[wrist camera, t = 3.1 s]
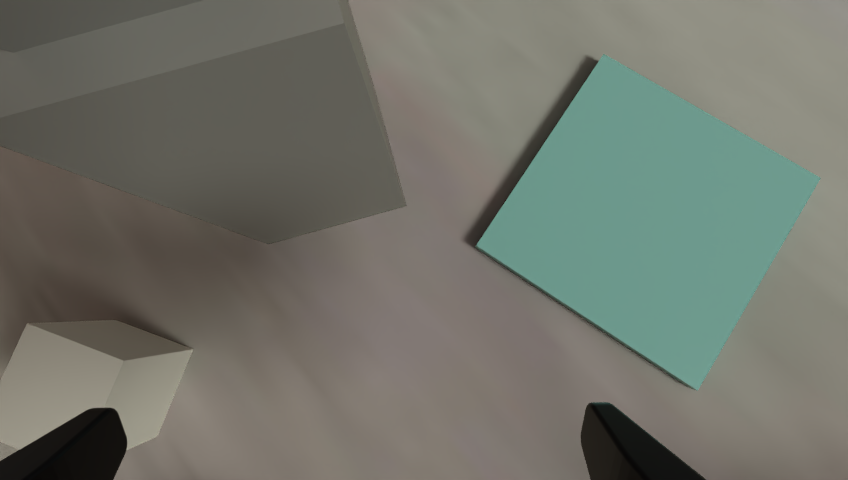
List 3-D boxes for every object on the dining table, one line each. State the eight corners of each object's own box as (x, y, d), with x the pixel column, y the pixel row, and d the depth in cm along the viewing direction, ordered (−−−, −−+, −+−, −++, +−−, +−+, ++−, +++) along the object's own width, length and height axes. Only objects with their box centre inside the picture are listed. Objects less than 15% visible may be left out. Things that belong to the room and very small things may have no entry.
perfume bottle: (267, 244, 21) (-768, -137, 3) (239, 113, 22) (-651, -742, 4) (406, 205, 21) (201, -400, 3) (371, 77, 22) (64, -934, 4)
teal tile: (689, 388, 19) (697, 390, 18) (474, 247, 20) (475, 245, 20) (809, 181, 20) (820, 177, 20) (599, 60, 21) (603, 53, 21)
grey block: (158, 436, 20) (75, 473, 15) (79, 404, 20) (-24, 431, 16) (193, 349, 20) (123, 360, 16) (116, 319, 21) (27, 323, 16)
